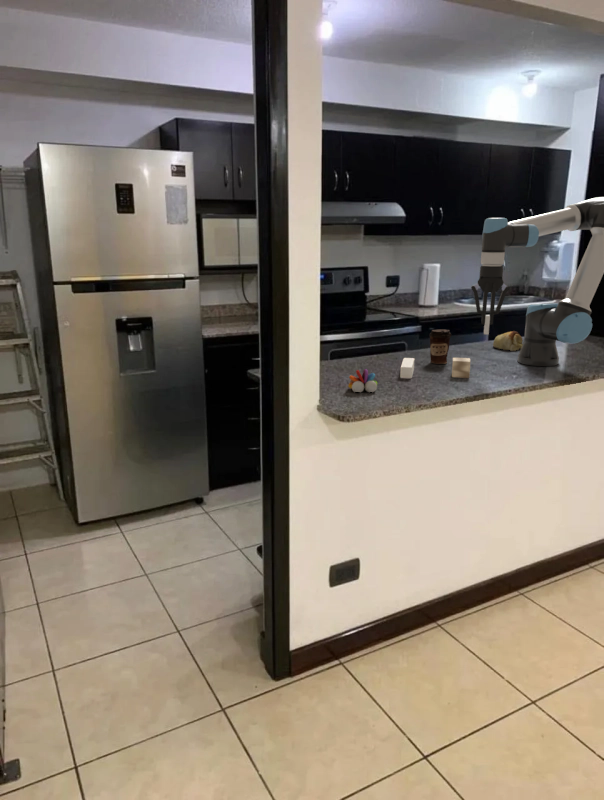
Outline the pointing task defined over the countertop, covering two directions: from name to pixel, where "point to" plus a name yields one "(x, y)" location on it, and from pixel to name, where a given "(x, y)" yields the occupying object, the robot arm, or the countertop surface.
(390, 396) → the countertop surface
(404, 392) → the countertop surface
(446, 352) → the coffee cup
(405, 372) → the white rectangular bar
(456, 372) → the block
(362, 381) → the rainbow fan toy
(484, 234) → the robot arm
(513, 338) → the pastry
